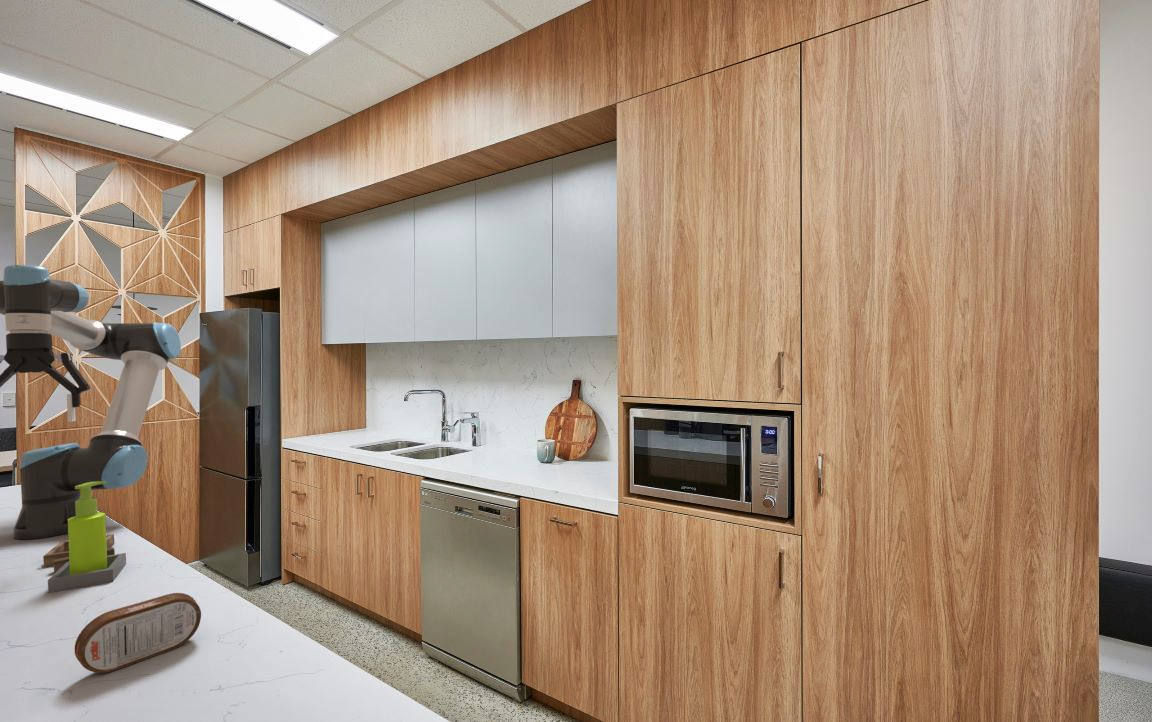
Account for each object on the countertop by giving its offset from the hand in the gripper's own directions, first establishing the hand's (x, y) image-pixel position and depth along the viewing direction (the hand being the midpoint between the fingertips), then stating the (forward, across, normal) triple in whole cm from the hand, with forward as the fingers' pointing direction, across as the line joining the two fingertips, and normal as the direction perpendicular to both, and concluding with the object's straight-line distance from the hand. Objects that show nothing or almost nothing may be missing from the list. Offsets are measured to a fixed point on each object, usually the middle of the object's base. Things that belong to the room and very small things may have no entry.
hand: (33, 424), depth 125 cm
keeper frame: (+32, +14, -21) cm, 41 cm away
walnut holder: (+32, +8, -2) cm, 33 cm away
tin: (+32, +31, -67) cm, 80 cm away
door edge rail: (+32, +11, -12) cm, 35 cm away
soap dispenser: (+32, +14, -21) cm, 41 cm away
